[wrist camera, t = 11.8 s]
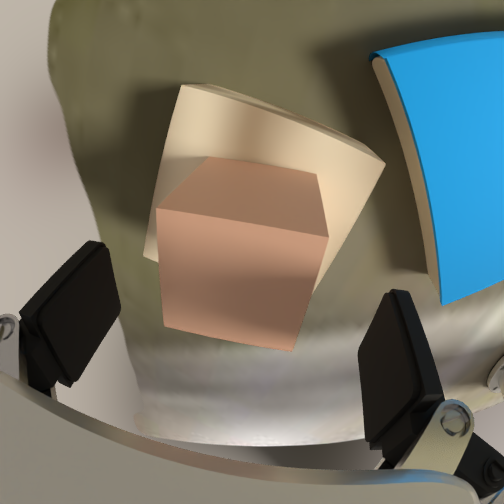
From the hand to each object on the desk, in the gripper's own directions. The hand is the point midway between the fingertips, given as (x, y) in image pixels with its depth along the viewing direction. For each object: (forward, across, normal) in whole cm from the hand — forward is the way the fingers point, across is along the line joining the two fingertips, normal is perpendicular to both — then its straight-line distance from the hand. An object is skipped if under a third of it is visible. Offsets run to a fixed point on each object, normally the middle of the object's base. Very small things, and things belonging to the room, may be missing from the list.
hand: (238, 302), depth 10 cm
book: (+12, -20, -9) cm, 25 cm away
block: (+6, 0, 0) cm, 6 cm away
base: (+11, +1, 0) cm, 11 cm away
